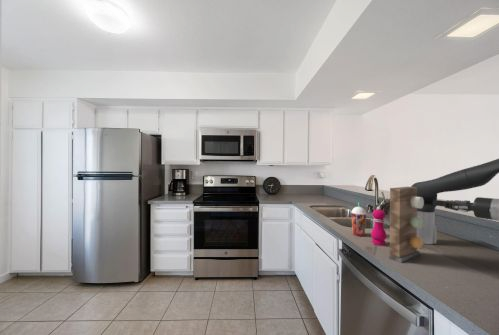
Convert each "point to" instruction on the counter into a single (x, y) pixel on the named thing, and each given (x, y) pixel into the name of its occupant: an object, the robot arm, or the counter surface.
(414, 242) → the orange button
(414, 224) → the sage button
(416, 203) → the cream button
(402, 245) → the walnut button panel
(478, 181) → the robot arm
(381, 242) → the pepper mill
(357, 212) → the smoothie
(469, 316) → the counter surface
